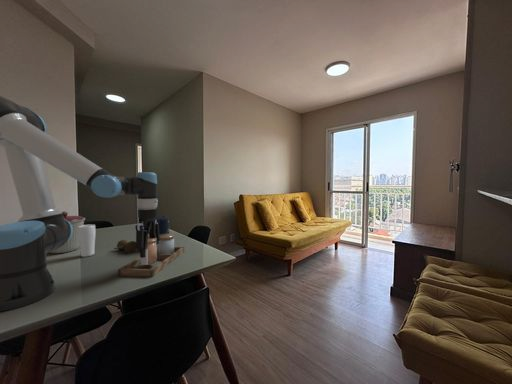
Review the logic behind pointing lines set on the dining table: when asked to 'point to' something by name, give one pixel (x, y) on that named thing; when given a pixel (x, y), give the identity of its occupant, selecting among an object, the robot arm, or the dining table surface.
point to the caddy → (167, 259)
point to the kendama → (127, 246)
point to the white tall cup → (86, 239)
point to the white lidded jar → (166, 244)
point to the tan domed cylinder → (151, 250)
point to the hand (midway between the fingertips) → (149, 261)
